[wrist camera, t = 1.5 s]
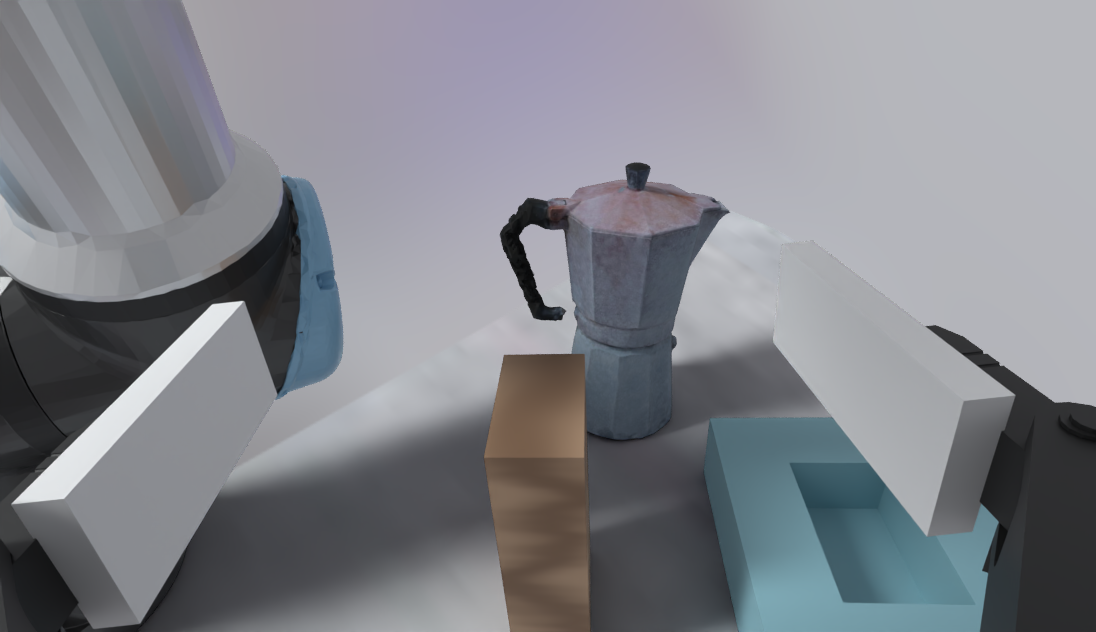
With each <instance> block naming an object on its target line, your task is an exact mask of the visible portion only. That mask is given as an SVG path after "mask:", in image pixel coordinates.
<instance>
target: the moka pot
mask: <svg viewBox="0 0 1096 632" xmlns="http://www.w3.org/2000/svg"><path fill="white" fill-rule="evenodd" d="M649 172H650V166H648V165H647V164H643V163H631V164H628V165H627V166H626V174H627V180H617V181H611V182H607V183H602V184H597V185H592V186H587V187H582V188H579V189H578V190H576V192H575V193H574V194H573V196H572V197H571V198H570V199H569V198H556V199H551V200H548V201H544V200H539V199H534V198H527V199H526V200H525V202H524V203H523V204H522V205H521V206H519V208H518V211H517V214H516V215H515V214H513V215H512V216H511V218H510V219H509V223H508V224H507V225H505V226H504V227H503V229H502V231H501V233H500V237H501V242H502V246H503V250H504V252H505V253H506V255H507V258H508V259H509V261H510V264H511V266H512V269H513V270H514V272H515V274H516V276H517V278H518V282H519V285H520V287H521V288H522V290H523V292H524V297H525V299H526V301H527V302H528V306H529V308H530V311H531V313H532V315H533V318H535V319H539V320H554V321H556V320H562V318H563V315H564V314H565V312H566V310H564V309H563V308H562V307H547V306H545V305H544V303H543V300H542V297H541V295H540V294H539V293H538V291H537V289H536V287H537V286H536V282H535V279H534V277H533V276H534V274H533V272H532V270H531V267H530V264H529V262H528V260H527V258H526V253H525V250H524V246H523V244H522V243H521V241H520V240H519V235H520V234H521V232H522V230H523V229H524V227H526V226H528V225H530V224H535V225H538V226H540V227H543V228H545V229H550V230H558V229H563V230H564V232H565V239H566V247H567V256H568V264H569V272H570V283H571V293H572V300H573V301H574V302H575V304H576V307H575V311H574V315H575V318H576V320H577V324H578V325H577V328H576V333H575V337H574V342H573V347H572V354H585V382H586V418H587V431H588V432H590V433H593V434H595V435H599V436H602V437H606V438H610V439H617V440H626V439H635V438H643V437H645V436H648V435H650V434H653V433H655V432H656V431H657V430H659V429H660V428H662V427H663V426H664V425H666V423H667V422H668V421H669V420H670V418H671V412H672V349H674V348H675V346H676V345H677V341H676V337H675V336H673V335H672V333H671V332H672V330H673V327H674V322H675V316H676V314H677V311H678V307H679V304H680V300H681V296H682V292H683V288H684V284H685V281H686V277H687V274H688V270H689V267H690V265H691V263H692V261H693V260H694V258H695V257H696V255H697V254H698V252H699V251H700V249H701V247H702V246H703V244H704V243H705V241H706V240H707V238H708V236H709V235H710V233H711V232H712V230H713V229H714V227H715V226H716V224H717V223H718V221H719V220H720V219H721V218H722V217H723V216H724V215H725V214H728V213H730V212H729V210H727V209H726V207H725V206H724V205H723V204H722V203H721V202H719V201H715V199H714V198H712V197H708V196H705V195H699V194H695V193H691V194H690V193H687V192H685V191H683V190H681V189H680V188H678V187H676V186H674V185H671V184H662V183H653V182H647V178H648V175H649Z"/></svg>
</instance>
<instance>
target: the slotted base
mask: <svg viewBox="0 0 1096 632" xmlns="http://www.w3.org/2000/svg"><path fill="white" fill-rule="evenodd" d="M704 476H705V480H706V485H707V490H708V494H709V499H710V503H711V508H712V512H713V517H714V522H715V526H716V531H717V535H718V540H719V545H720V549H721V554H722V558H723V563H724V567H725V572H726V577H727V581H728V586H729V590H730V595H731V600H732V604H733V609H734V613H735V618H736V623H737V627H738V632H980V626H981V619H982V612H983V605H984V598H985V591H986V584H987V577H988V573H987V572H984V571H982V569H983V566H984V563H985V560H986V557H987V554H988V551H989V548H990V546H991V543H992V540H993V537H994V534H995V531H996V528H997V525H998V522H999V521H998V520H997V519H996V518H995V517H994V516H993V515H992V514H991V513H990V512H989V511H988V510H987V509H986V508H985V507H984V506H983V505H982V504H981V506H980V509H979V512H978V515H977V519H976V522H975V525H974V528H973V531H972V532H965V533H956V534H947V535H938V536H929V537H927V536H926V535H925V534H924V532H923V531H922V530H921V529H920V527H919V526H918V525H917V523H916V522H915V521H914V520H913V518H912V517H911V516H910V515H909V513H908V512H907V511H906V510H905V508H904V507H903V506H902V505H901V503H900V502H899V501H898V499H897V498H896V497H895V496H894V494H893V493H892V492H891V491H890V489H889V488H888V487H887V486H886V484H885V483H884V482H883V480H882V479H881V478H880V477H879V475H878V474H877V473H876V472H875V470H874V469H873V468H872V467H871V465H870V464H869V463H868V462H867V460H866V459H865V458H864V456H863V455H862V454H861V453H860V451H859V450H858V449H857V448H856V446H855V445H854V444H853V443H852V441H851V440H850V439H849V438H848V436H847V435H846V434H845V432H844V431H843V430H842V429H841V427H840V426H839V425H838V424H837V422H836V421H835V420H834V419H833V418H710V422H709V430H708V439H707V447H706V456H705V464H704Z"/></svg>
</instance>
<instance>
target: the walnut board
mask: <svg viewBox="0 0 1096 632" xmlns="http://www.w3.org/2000/svg"><path fill="white" fill-rule="evenodd" d="M484 462H485V469H486V475H487V482H488V488H489V495H490V501H491V508H492V514H493V521H494V528H495V534H496V541H497V547H498V554H499V560H500V567H501V573H502V580H503V586H504V593H505V599H506V606H507V612H508V619H509V626H510V632H591V615H590V526H589V490H588V454H587V418H586V382H585V354H534V355H504V358H503V363H502V368H501V373H500V378H499V383H498V388H497V393H496V398H495V403H494V408H493V414H492V419H491V424H490V429H489V434H488V439H487V444H486V449H485V454H484Z"/></svg>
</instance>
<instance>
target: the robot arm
mask: <svg viewBox="0 0 1096 632" xmlns="http://www.w3.org/2000/svg"><path fill="white" fill-rule="evenodd" d="M334 275H335V271H334V267H333V255H332V251H331V245H330V241H329V236H328V232H327V228H326V224H325V220H324V217H323V212H322V209H321V206H320V203H319V200H318V197H317V194H316V192H315V190H314V188H313V186H312V185H311V184H310V182H308V181H307V180H305V179H302V178H291V177H288V176H284V175H282V176H281V175H280V172H279V169H278V167H277V165H276V164H275V162H274V161H273V159H272V158H271V156H270V155H269V154H268V153H267V151H266V150H265V149H263V148H262V147H261V146H260V145H259V144H257V143H256V142H255V141H253V140H251V139H249V138H248V137H246V136H244V135H242V134H239V133H237V132H235V131H232V130H230V129H228V126H227V124H226V121H225V118H224V115H223V112H222V110H221V107H220V104H219V101H218V99H217V96H216V93H215V90H214V87H213V85H212V82H211V79H210V76H209V74H208V71H207V68H206V65H205V63H204V60H203V57H202V54H201V52H200V49H199V46H198V44H197V41H196V38H195V35H194V32H193V30H192V27H191V24H190V21H189V19H188V16H187V13H186V10H185V7H184V5H183V2H182V0H0V632H135V631H136V630H137V629H138V628H139V627H140V626H141V625H142V624H143V623H144V622H145V621H146V620H147V618H148V617H149V616H150V615H151V614H152V612H153V611H154V610H155V609H156V607H157V606H158V605H159V603H160V602H161V601H162V599H163V598H164V596H165V595H166V594H167V592H168V590H169V589H170V587H171V585H172V584H173V582H174V580H175V578H176V576H177V574H178V572H179V569H180V567H181V564H182V561H183V558H184V554H185V550H186V547H187V545H188V543H189V542H190V540H191V538H192V537H193V535H194V533H195V532H196V530H197V528H198V527H199V525H200V523H201V522H202V520H203V518H204V517H205V515H206V513H207V512H208V510H209V508H210V507H211V505H212V503H213V502H214V500H215V498H216V497H217V495H218V493H219V492H220V490H221V488H222V487H223V485H224V483H225V482H226V480H227V478H228V477H229V475H230V473H231V472H232V470H233V468H234V467H235V465H236V463H237V462H238V460H239V458H240V457H241V455H242V453H243V452H244V450H245V448H246V447H247V445H248V443H249V442H250V440H251V438H252V437H253V435H254V434H255V432H256V430H257V428H258V427H259V425H260V424H261V422H262V420H263V418H264V417H265V415H266V414H267V412H268V410H269V409H270V407H271V405H272V404H273V402H274V400H277V399H280V398H281V397H283V396H284V395H286V394H287V393H288V392H290V391H293V390H296V389H299V388H302V387H305V386H308V385H311V384H314V383H317V382H320V381H322V380H324V379H326V378H327V377H329V376H330V375H331V374H332V373H333V372H334V371H335V370H336V369H337V367H338V365H339V363H340V361H341V358H342V353H343V324H342V313H341V305H340V298H339V292H338V287H337V284H336V281H335V279H334ZM773 343H774V344H775V345H776V347H777V348H778V349H779V350H780V352H781V353H782V354H783V355H784V357H785V358H786V359H787V360H788V362H789V363H790V364H791V366H792V367H793V368H794V369H795V371H796V372H797V373H798V374H799V376H800V377H801V378H802V379H803V381H804V382H805V383H806V384H807V386H808V387H809V388H810V390H811V391H812V392H813V393H814V395H815V396H816V397H817V398H818V400H819V401H820V402H821V403H822V405H823V406H824V407H825V408H826V410H827V411H828V412H829V414H830V415H831V416H832V417H833V419H834V420H835V421H836V422H837V424H838V425H839V426H840V427H841V429H842V430H843V431H844V432H845V434H846V435H847V436H848V438H849V439H850V440H851V441H852V443H853V444H854V445H855V446H856V448H857V449H858V450H859V451H860V453H861V454H862V455H863V456H864V458H865V459H866V460H867V462H868V463H869V464H870V465H871V467H872V468H873V469H874V470H875V472H876V473H877V474H878V475H879V477H880V478H881V479H882V480H883V482H884V483H885V484H886V486H887V487H888V488H889V489H890V491H891V492H892V493H893V494H894V496H895V497H896V498H897V499H898V501H899V502H900V503H901V505H902V506H903V507H904V508H905V510H906V511H907V512H908V513H909V515H910V516H911V517H912V518H913V520H914V521H915V522H916V523H917V525H918V526H919V527H920V529H921V530H922V531H923V532H924V534H925V535H926V536H927V537H929V536H938V535H947V534H956V533H965V532H972V531H973V528H974V525H975V522H976V519H977V515H978V512H979V509H980V506H981V504H982V505H983V506H984V507H985V508H986V509H987V510H988V511H989V512H990V513H991V514H992V515H993V516H994V517H995V518H996V519H997V520H998V521H999V522H998V525H997V528H996V531H995V534H994V537H993V540H992V543H991V546H990V548H989V551H988V554H987V557H986V560H985V563H984V566H983V569H982V571H984V572H987V573H988V577H987V584H986V591H985V598H984V605H983V612H982V619H981V626H980V632H1096V407H1094V406H1091V405H1084V404H1078V403H1071V402H1063V403H1054V402H1053V401H1052V400H1050V399H1048V398H1047V397H1046V396H1045V395H1043V394H1042V393H1040V392H1039V391H1038V390H1036V389H1035V388H1034V387H1032V386H1031V385H1029V384H1028V383H1027V382H1025V381H1024V380H1023V379H1021V378H1020V377H1018V376H1017V375H1015V374H1014V373H1013V372H1011V371H1010V370H1008V369H1007V368H1006V367H1005V366H1000V365H999V362H998V361H996V360H995V359H993V358H992V357H991V356H989V355H988V354H983V351H982V350H981V349H979V348H978V347H977V346H975V345H974V344H972V343H971V342H970V341H968V340H967V339H966V338H964V337H963V336H960V335H958V334H955V333H953V332H951V331H948V330H946V329H943V328H941V327H939V326H936V325H934V326H924V325H923V324H921V323H920V322H919V321H917V320H916V319H915V318H913V317H912V316H911V315H909V314H908V313H907V312H906V311H904V310H903V309H902V308H900V307H899V306H898V305H897V304H895V303H894V302H893V301H891V300H890V299H889V298H887V297H886V296H885V295H883V294H882V293H881V292H879V291H878V290H877V289H876V288H874V287H873V286H872V285H870V284H869V283H868V282H866V281H865V280H864V279H862V278H861V277H860V276H858V275H857V274H856V273H855V272H853V271H852V270H851V269H849V268H848V267H847V266H845V265H844V264H843V263H841V262H840V261H839V260H838V259H836V258H835V257H833V256H832V255H831V254H830V253H828V252H827V251H826V250H824V249H823V248H822V247H820V246H819V245H818V244H816V243H815V242H814V241H805V242H796V243H786V244H782V247H781V258H780V269H779V280H778V291H777V302H776V313H775V324H774V334H773Z"/></svg>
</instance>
